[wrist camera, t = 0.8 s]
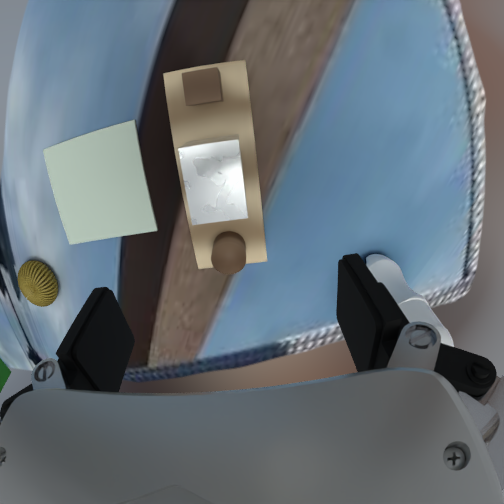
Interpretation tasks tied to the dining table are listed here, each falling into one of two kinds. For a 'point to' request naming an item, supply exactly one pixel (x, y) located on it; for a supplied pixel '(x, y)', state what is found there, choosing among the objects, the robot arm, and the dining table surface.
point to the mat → (101, 184)
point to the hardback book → (3, 374)
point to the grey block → (214, 179)
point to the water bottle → (405, 294)
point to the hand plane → (215, 125)
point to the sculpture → (37, 283)
